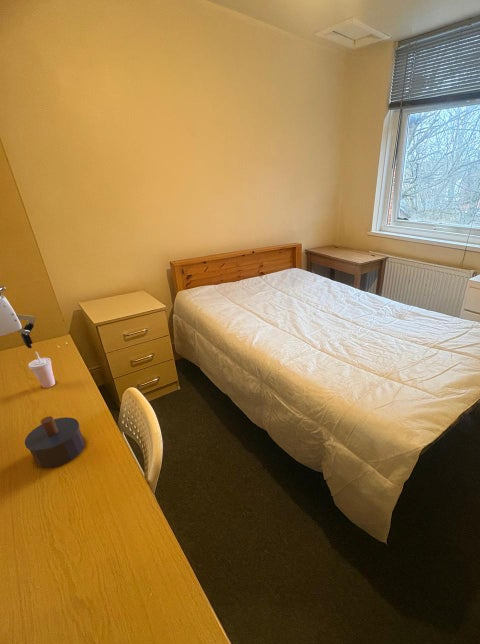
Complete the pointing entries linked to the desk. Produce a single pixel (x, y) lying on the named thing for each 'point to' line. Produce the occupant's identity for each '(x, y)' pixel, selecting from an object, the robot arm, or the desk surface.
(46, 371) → the smoothie
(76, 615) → the desk surface
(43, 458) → the pot
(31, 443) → the lid
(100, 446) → the desk surface
